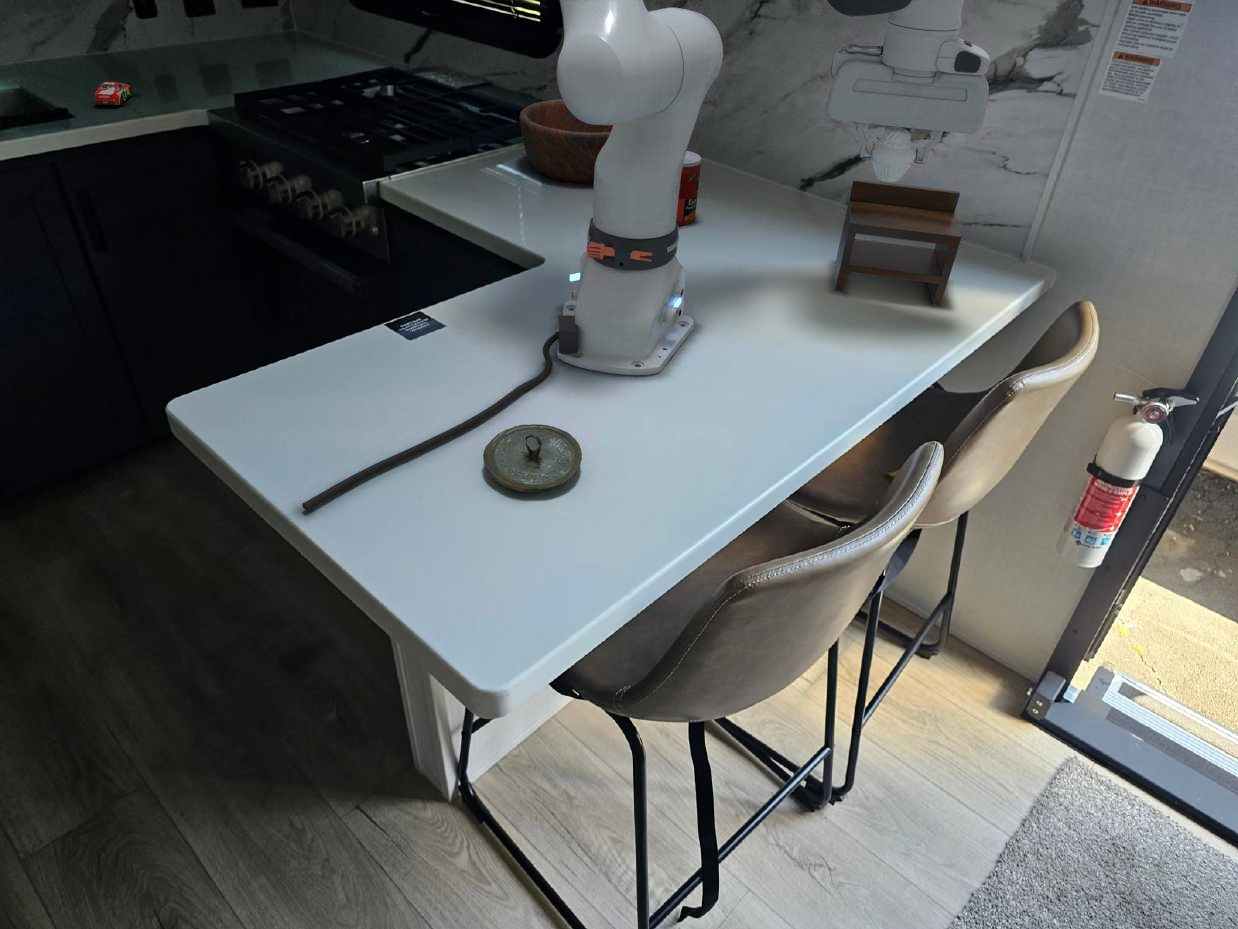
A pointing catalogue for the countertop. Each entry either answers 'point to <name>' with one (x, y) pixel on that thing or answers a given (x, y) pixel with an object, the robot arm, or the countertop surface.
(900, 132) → the muffin
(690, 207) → the canned food
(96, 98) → the race car
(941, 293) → the shelf
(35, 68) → the countertop surface
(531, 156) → the wooden bowl
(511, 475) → the lid
